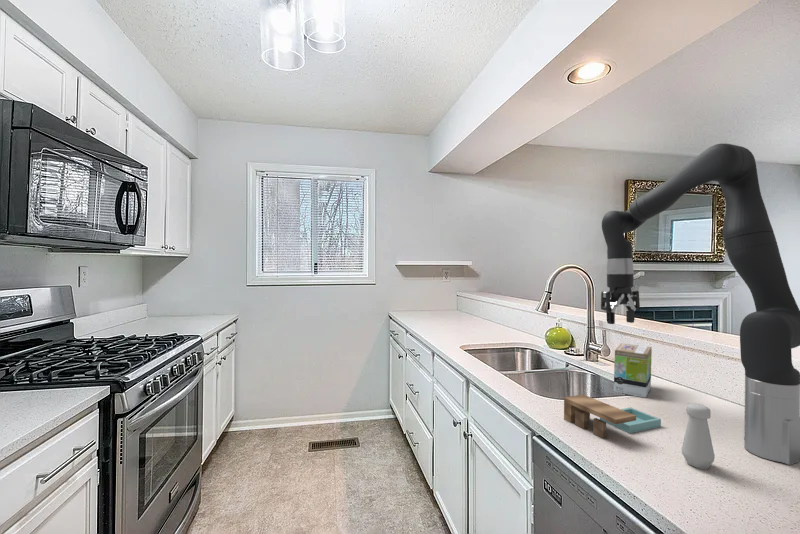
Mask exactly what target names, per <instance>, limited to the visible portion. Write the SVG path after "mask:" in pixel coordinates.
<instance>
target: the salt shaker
mask: <svg viewBox="0 0 800 534" xmlns="http://www.w3.org/2000/svg"><path fill="white" fill-rule="evenodd" d="M685 412H686V414H687V415H688V419H687V424H686V429H685V433H684V437H683V441H682V445H681V455H683V457H684V460H685V461H686V463H687V464H688V465H689V466H691V465H692V466H691V467H693V466H694V467H693V468H695V467H696V469H699V468H702V470H708V469H709V468H710V467H711V465H712V464H713V463H714V462H715V451H714V446H713V442H712V436H711V432H710V426H709V422H708V420H709V419H710V418H711V414H712V413H711V409H710V408H709V407H708V406H707V405H703V404H700V403H688V404H687V405H686V408H685Z"/></svg>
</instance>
